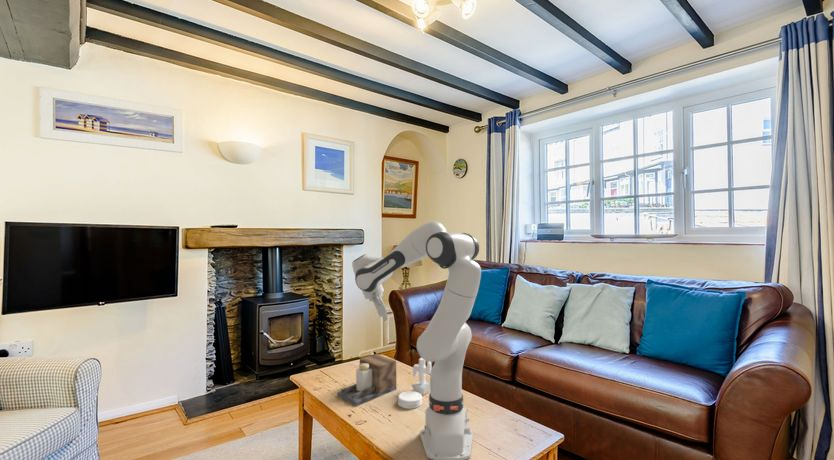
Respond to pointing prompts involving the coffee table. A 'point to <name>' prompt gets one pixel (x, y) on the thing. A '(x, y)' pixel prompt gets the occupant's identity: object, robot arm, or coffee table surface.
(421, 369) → the figurine
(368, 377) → the knob
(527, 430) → the coffee table surface
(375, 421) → the coffee table surface
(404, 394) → the coaster
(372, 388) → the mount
